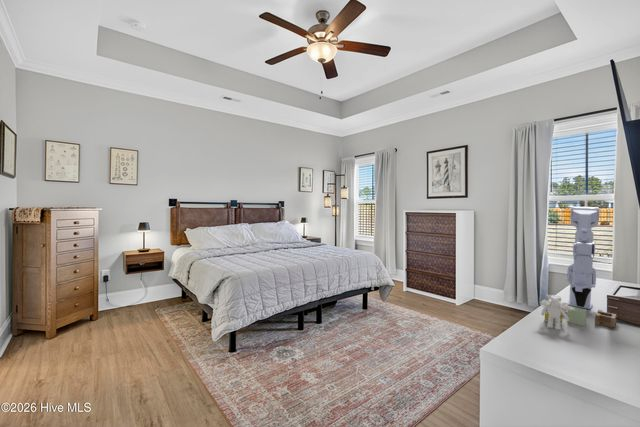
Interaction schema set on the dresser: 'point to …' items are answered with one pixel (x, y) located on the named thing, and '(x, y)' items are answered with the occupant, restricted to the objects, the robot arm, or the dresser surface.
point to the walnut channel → (603, 318)
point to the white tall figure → (548, 314)
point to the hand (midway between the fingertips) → (580, 306)
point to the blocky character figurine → (554, 311)
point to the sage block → (577, 316)
